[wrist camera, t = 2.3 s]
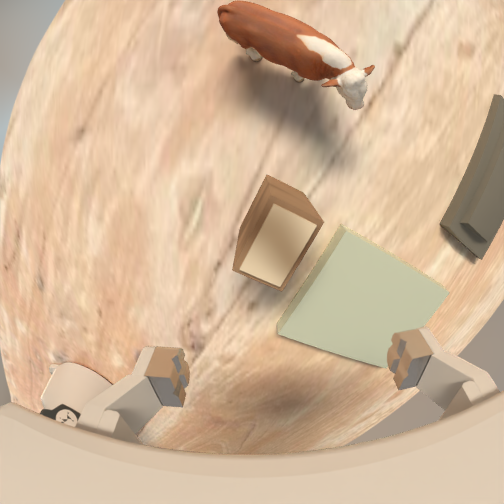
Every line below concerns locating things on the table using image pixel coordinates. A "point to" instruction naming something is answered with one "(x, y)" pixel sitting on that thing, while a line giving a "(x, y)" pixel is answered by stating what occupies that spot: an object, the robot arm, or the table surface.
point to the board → (360, 300)
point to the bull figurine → (294, 48)
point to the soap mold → (481, 188)
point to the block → (275, 234)
